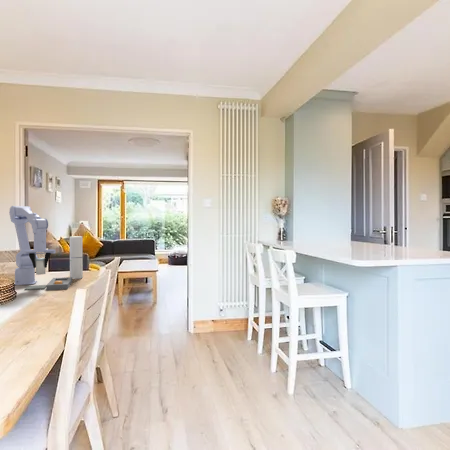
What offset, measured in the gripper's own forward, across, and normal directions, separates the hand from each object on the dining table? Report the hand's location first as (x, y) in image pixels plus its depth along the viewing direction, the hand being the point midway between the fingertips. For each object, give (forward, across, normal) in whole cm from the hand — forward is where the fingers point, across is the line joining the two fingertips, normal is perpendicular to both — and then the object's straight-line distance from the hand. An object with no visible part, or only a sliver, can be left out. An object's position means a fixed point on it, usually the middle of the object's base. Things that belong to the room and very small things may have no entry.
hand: (40, 267), depth 189 cm
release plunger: (+10, +9, -5) cm, 14 cm away
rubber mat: (+10, -2, -1) cm, 11 cm away
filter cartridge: (+3, 0, 0) cm, 3 cm away
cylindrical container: (+11, +16, +25) cm, 32 cm away
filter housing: (+10, +9, +2) cm, 14 cm away
